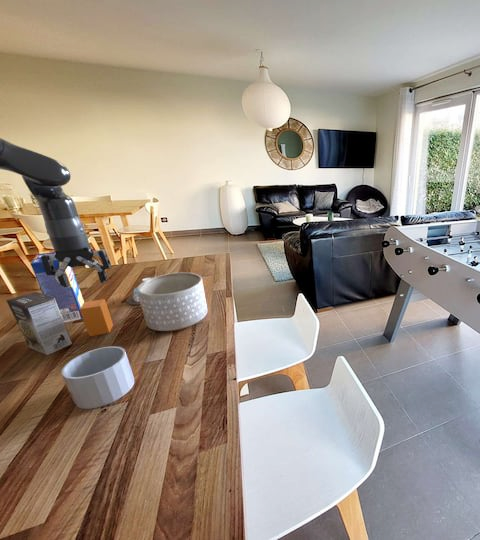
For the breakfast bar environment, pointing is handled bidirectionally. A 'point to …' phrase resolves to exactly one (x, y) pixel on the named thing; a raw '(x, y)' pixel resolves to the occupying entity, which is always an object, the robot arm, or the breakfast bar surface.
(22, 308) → the coffee box
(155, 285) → the planter
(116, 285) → the breakfast bar surface
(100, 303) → the juice carton
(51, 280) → the beverage box
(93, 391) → the ceramic bowl
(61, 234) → the robot arm
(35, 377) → the breakfast bar surface
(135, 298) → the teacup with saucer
